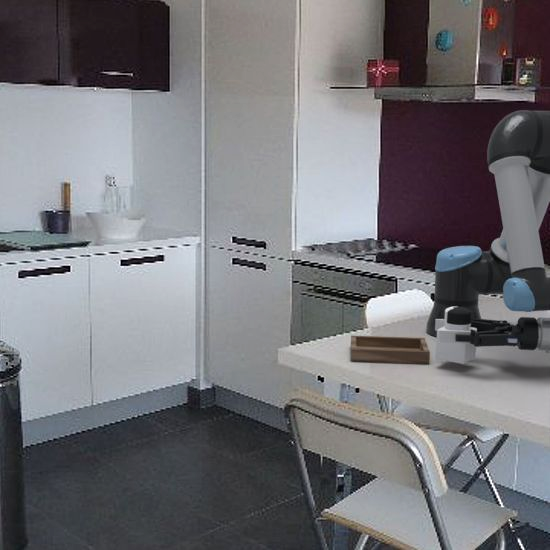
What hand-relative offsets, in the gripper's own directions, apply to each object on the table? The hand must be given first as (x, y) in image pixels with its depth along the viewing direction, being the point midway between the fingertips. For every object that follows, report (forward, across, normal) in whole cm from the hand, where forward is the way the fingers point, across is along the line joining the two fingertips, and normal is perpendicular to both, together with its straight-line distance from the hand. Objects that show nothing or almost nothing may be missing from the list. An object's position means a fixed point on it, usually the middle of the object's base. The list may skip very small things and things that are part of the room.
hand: (437, 330), depth 196 cm
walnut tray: (+11, +8, -9) cm, 16 cm away
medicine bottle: (-4, 0, -7) cm, 8 cm away
